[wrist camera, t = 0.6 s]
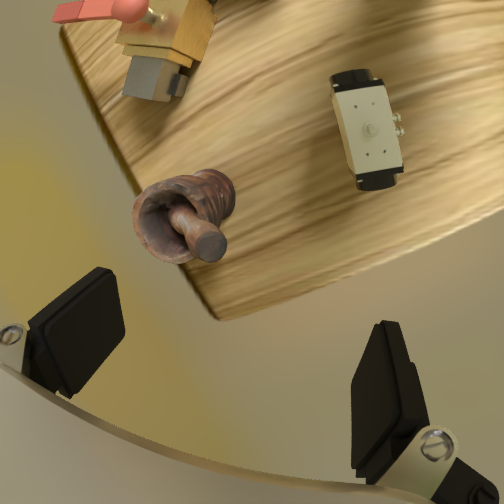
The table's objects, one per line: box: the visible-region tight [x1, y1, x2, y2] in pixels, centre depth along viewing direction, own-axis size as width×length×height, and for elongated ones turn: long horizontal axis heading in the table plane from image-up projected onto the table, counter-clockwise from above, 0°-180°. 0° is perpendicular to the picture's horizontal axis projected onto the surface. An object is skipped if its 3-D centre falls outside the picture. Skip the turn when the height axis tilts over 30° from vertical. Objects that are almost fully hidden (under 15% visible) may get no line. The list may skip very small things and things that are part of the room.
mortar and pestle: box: [132, 169, 235, 264], centre depth 31 cm, size 12×9×20 cm
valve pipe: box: [115, 0, 217, 102], centre depth 27 cm, size 20×8×12 cm, turn 162°
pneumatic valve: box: [329, 69, 404, 191], centre depth 28 cm, size 6×12×12 cm, turn 16°
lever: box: [52, 0, 150, 24], centre depth 20 cm, size 14×4×2 cm, turn 72°
